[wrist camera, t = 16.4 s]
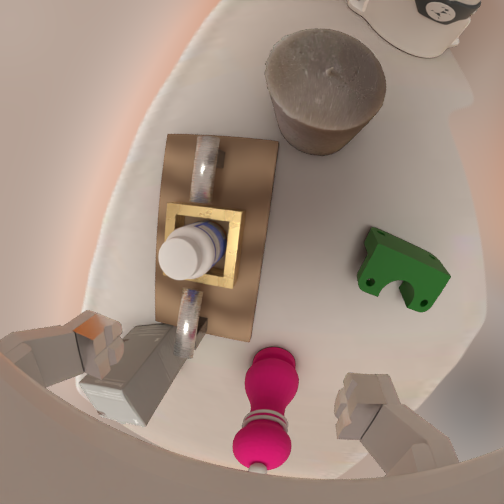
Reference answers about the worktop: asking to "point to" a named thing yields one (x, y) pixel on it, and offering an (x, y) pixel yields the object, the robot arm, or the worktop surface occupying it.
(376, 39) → the worktop surface
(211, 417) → the worktop surface
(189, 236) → the pill bottle
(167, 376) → the skincare box
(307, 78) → the pillar candle
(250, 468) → the pepper mill
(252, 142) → the shaft stand
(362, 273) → the clamp
